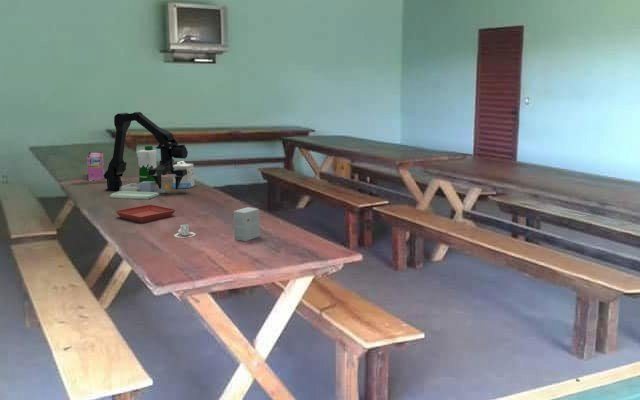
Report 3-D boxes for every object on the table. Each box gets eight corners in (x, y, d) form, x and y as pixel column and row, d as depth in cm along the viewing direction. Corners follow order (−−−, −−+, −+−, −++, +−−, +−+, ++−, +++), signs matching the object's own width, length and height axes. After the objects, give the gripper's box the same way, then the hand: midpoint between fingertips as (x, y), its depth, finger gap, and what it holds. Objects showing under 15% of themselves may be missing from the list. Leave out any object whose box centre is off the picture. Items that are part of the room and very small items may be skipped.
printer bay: (119, 192, 317) (119, 187, 317) (130, 189, 327) (130, 183, 326) (136, 193, 315) (135, 187, 315) (146, 189, 325) (146, 183, 324)
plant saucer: (151, 211, 278) (150, 203, 277) (177, 216, 267) (176, 209, 266) (114, 218, 264) (114, 210, 264) (140, 225, 253) (140, 216, 252)
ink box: (188, 188, 327) (186, 162, 325) (173, 188, 329) (171, 162, 326) (194, 185, 336) (193, 160, 333) (179, 185, 337) (178, 160, 335)
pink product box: (90, 174, 374) (88, 151, 371) (105, 174, 376) (103, 151, 373) (88, 181, 351) (86, 157, 349) (103, 180, 354) (101, 156, 351)
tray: (109, 197, 305) (108, 194, 305) (120, 193, 315) (119, 190, 314) (149, 199, 300) (148, 196, 300) (159, 195, 310) (158, 192, 310)
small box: (248, 234, 235) (247, 206, 233) (260, 236, 232) (259, 208, 230) (233, 239, 229) (232, 210, 227) (245, 241, 226) (244, 212, 224)
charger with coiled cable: (178, 232, 241) (177, 222, 240) (199, 233, 240) (198, 222, 239) (171, 238, 232) (170, 227, 231) (192, 239, 231) (191, 228, 231)
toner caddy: (139, 192, 318) (139, 182, 317) (144, 190, 322) (144, 181, 321) (167, 193, 314) (167, 183, 313) (172, 191, 319) (171, 181, 318)
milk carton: (160, 182, 345) (158, 146, 341) (150, 185, 337) (147, 148, 332) (146, 181, 348) (144, 145, 344) (136, 184, 340) (133, 147, 336)
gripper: (141, 159, 308) (143, 191, 311) (177, 160, 303) (178, 192, 307) (152, 156, 318) (154, 187, 321) (187, 157, 314) (188, 188, 317)
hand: (168, 189), depth 316 cm, fingers open, 9 cm apart
